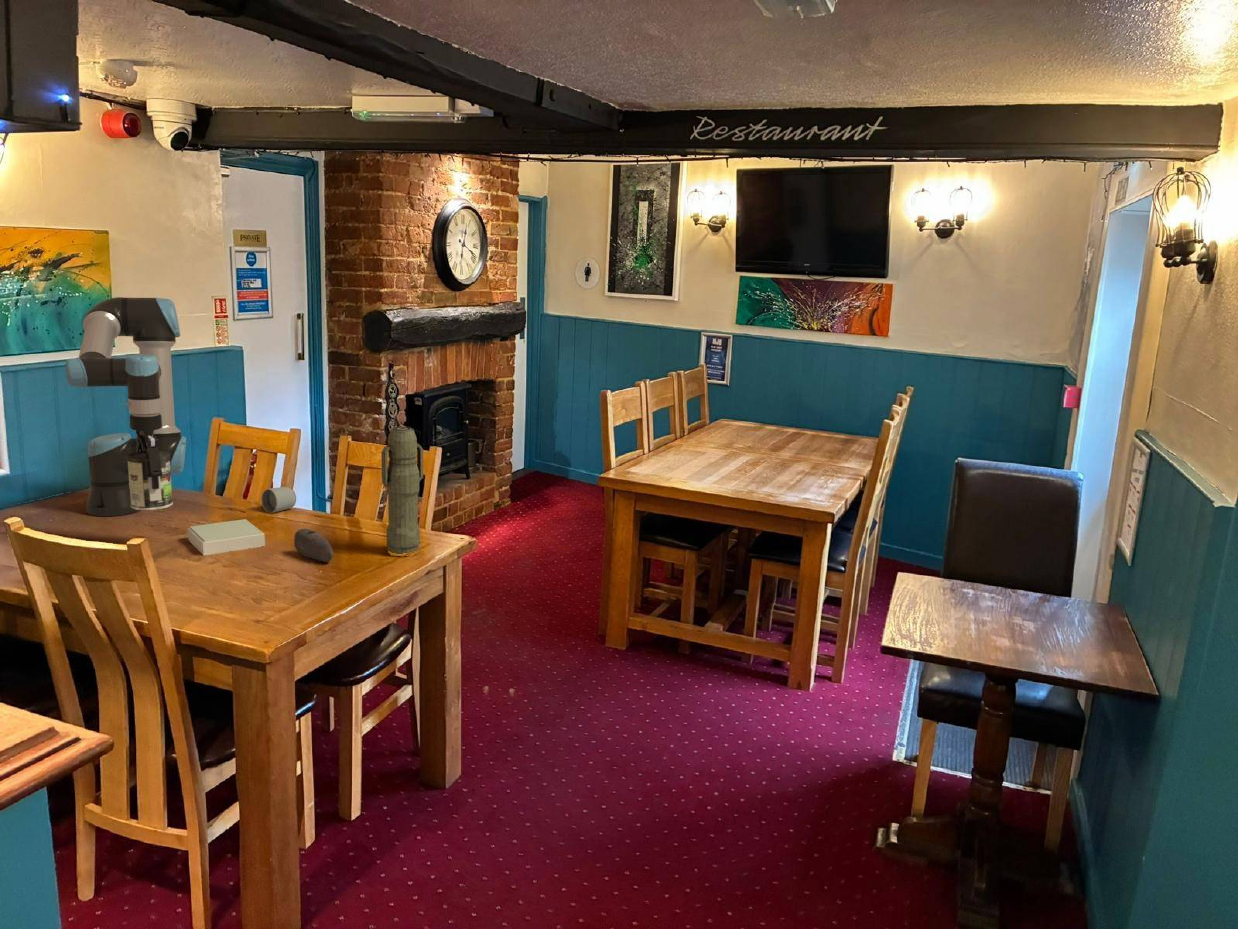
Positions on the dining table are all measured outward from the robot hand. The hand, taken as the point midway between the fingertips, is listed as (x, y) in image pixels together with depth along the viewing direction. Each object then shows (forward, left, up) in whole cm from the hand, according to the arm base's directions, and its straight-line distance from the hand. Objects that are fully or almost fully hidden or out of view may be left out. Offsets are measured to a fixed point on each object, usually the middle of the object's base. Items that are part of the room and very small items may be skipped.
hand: (151, 495), depth 244 cm
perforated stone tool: (+31, +33, -15) cm, 48 cm away
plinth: (+6, +17, -14) cm, 23 cm away
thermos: (+38, +55, -15) cm, 69 cm away
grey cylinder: (-21, +39, -15) cm, 47 cm away
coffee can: (0, 0, -3) cm, 3 cm away
